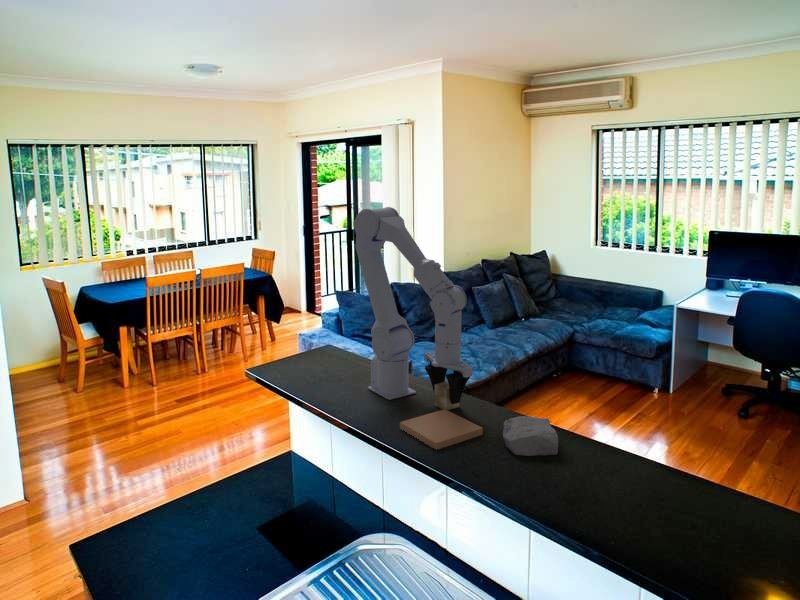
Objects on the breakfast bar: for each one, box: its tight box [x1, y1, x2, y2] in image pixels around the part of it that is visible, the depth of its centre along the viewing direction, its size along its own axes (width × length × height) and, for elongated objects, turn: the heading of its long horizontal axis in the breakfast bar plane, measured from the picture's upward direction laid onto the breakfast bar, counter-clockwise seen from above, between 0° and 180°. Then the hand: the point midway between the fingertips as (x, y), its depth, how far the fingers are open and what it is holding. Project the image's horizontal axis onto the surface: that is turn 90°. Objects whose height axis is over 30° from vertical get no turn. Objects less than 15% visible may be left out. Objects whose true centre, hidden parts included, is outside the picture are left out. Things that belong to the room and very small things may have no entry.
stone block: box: [502, 415, 559, 457], centre depth 118 cm, size 12×5×10 cm
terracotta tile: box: [399, 409, 484, 451], centre depth 123 cm, size 12×12×2 cm
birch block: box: [433, 380, 460, 411], centre depth 136 cm, size 4×4×5 cm
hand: (446, 399), depth 136 cm, fingers open, 5 cm apart
